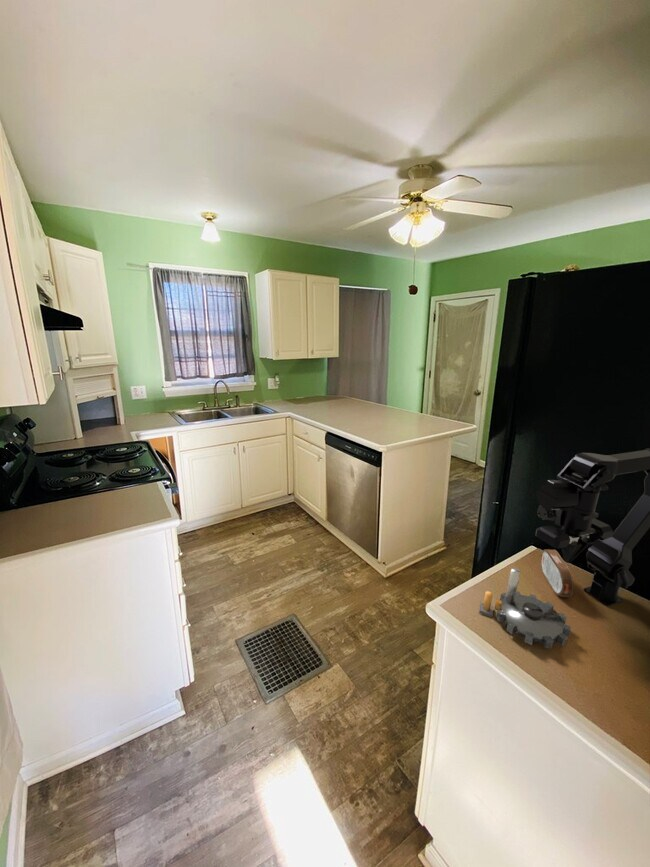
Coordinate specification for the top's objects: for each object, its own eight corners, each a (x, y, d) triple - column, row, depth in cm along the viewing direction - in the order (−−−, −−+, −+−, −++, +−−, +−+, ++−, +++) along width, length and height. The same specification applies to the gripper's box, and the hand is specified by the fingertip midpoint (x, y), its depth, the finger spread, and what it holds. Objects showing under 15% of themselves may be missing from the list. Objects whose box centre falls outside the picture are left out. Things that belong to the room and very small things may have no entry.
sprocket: (499, 589, 95) (505, 554, 92) (567, 614, 87) (577, 576, 84) (490, 627, 82) (497, 588, 80) (569, 660, 75) (581, 618, 72)
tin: (571, 604, 92) (578, 576, 90) (557, 602, 93) (564, 574, 91) (548, 568, 107) (553, 544, 104) (536, 567, 107) (542, 542, 105)
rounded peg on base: (492, 609, 90) (496, 591, 88) (492, 617, 87) (495, 599, 86) (479, 605, 91) (483, 587, 90) (479, 612, 89) (482, 595, 87)
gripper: (576, 488, 96) (564, 539, 100) (523, 496, 90) (512, 549, 94) (621, 506, 86) (605, 562, 90) (563, 516, 80) (550, 576, 84)
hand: (567, 561), depth 90 cm, fingers closed
